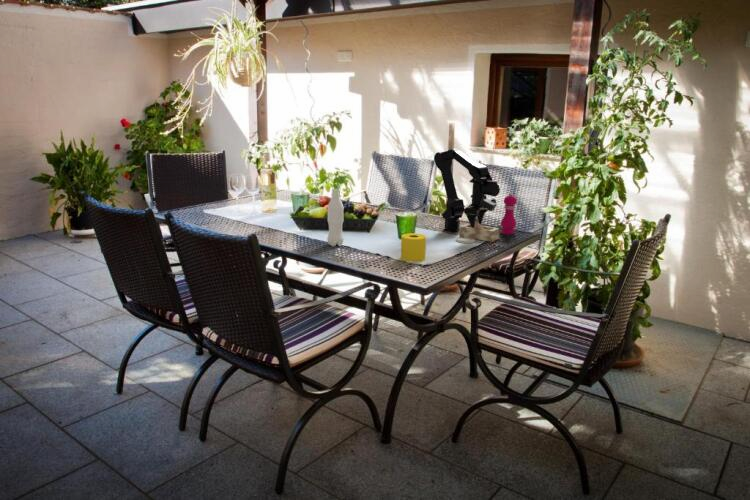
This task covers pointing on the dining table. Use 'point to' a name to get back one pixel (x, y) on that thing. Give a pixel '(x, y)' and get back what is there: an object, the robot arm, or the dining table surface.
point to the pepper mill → (509, 215)
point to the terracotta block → (477, 225)
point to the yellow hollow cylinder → (413, 247)
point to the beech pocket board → (479, 232)
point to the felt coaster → (465, 240)
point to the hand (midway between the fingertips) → (476, 225)
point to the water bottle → (335, 219)
